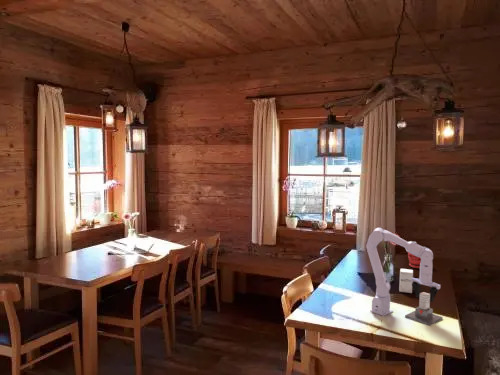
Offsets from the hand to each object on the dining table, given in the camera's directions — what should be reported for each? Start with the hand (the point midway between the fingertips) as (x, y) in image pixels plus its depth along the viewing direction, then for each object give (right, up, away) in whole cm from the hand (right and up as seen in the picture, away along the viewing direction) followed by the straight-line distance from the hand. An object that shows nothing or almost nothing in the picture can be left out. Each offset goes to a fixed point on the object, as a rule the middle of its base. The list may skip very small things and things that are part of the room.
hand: (424, 299), depth 209 cm
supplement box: (+6, -6, +42) cm, 43 cm away
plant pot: (+34, -2, +94) cm, 101 cm away
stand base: (0, -10, +1) cm, 10 cm away
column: (0, -6, +1) cm, 6 cm away
